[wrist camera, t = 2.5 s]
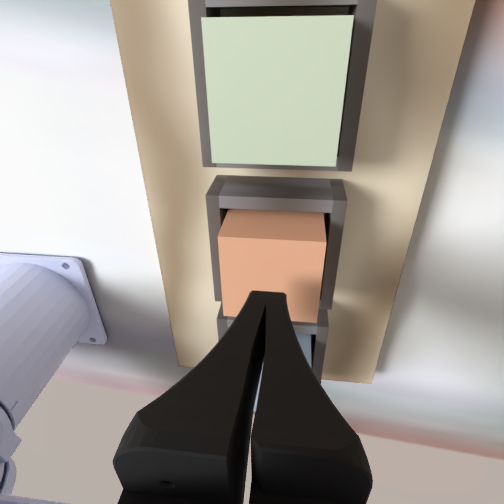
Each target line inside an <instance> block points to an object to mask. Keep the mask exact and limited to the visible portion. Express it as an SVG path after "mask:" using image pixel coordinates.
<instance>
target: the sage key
mask: <svg viewBox="0 0 504 504" xmlns="http://www.w3.org/2000/svg"><path fill="white" fill-rule="evenodd" d="M353 18H354V15H335V16H267V17H201V23H202V37H203V50H204V63H205V77H206V90H207V103H208V116H209V130H210V143H211V156H212V163H232V164H266V165H299V166H333V167H336V159H337V151H338V143H339V134H340V126H341V118H342V110H343V101H344V93H345V85H346V76H347V68H348V60H349V52H350V43H351V35H352V27H353Z"/></svg>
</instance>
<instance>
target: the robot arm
mask: <svg viewBox="0 0 504 504" xmlns="http://www.w3.org/2000/svg"><path fill="white" fill-rule="evenodd" d="M67 264H68V265H69V266H68V265H67ZM106 341H107V336H106V333H105V330H104V327H103V324H102V321H101V318H100V315H99V312H98V309H97V306H96V303H95V300H94V297H93V294H92V291H91V288H90V285H89V282H88V279H87V276H86V273H85V270H84V267H83V264H82V262H81V261H80V260H79V259H77V258H72V257H56V256H39V255H23V254H6V253H0V504H67V503H61V502H54V501H46V500H39V499H33V498H26V497H19V496H12V495H11V493H12V490H13V487H14V483H15V478H16V466H15V463H14V461H13V460H12V459H11V458H10V457H11V456H12V454H13V453H14V451H15V450H16V448H17V446H18V445H19V444H20V442H21V439H20V438H19V437H18V436H17V435H16V434H15V433H14V430H15V429H16V427H17V426H18V424H19V423H20V422H21V420H22V419H23V417H24V416H25V414H26V413H27V412H28V410H29V409H30V407H31V406H32V404H33V403H34V401H35V400H36V399H37V397H38V396H39V394H40V393H41V392H42V390H43V389H44V387H45V386H46V384H47V383H48V382H49V380H50V379H51V377H52V376H53V374H54V373H55V372H56V370H57V369H58V367H59V366H60V365H61V363H62V362H63V360H64V359H65V357H66V356H67V355H68V353H69V352H70V350H71V349H72V347H73V346H74V345H75V343H76V342H77V343H88V344H100V345H101V344H105V342H106ZM263 361H264V362H263ZM262 366H263V369H262ZM261 371H262V376H261ZM260 376H261V382H260V389H259V395H258V401H257V407H256V412H255V418H254V423H253V428H252V434H251V426H252V417H253V411H254V405H255V400H256V395H257V390H258V385H259V381H260ZM250 435H251V463H252V464H251V465H252V482H251V490H250V499H249V504H366V502H367V500H368V497H369V494H370V491H371V489H372V481H373V480H372V474H371V470H370V466H369V463H368V459H367V456H366V454H365V451H364V448H363V446H362V443H361V441H360V438H359V436H358V435H357V434H356V433H355V431H354V430H353V429H352V428H351V427H350V425H349V424H348V423H347V422H346V420H345V419H344V418H343V417H342V415H341V414H340V412H339V411H338V410H337V408H336V407H335V406H334V404H333V403H332V401H331V400H330V398H329V397H328V395H327V394H326V392H325V391H324V389H323V388H322V386H321V385H320V383H319V381H318V380H317V378H316V376H315V374H314V373H313V371H312V369H311V367H310V365H309V363H308V361H307V359H306V357H305V355H304V353H303V351H302V349H301V346H300V344H299V342H298V339H297V336H296V334H295V331H294V328H293V325H292V322H291V319H290V315H289V311H288V306H287V295H286V294H285V293H284V292H270V291H255V290H252V291H251V292H250V293H249V296H248V298H247V300H246V302H245V303H244V305H243V307H242V309H241V310H240V312H239V314H238V315H237V317H236V318H235V320H234V321H233V323H232V324H231V326H230V327H229V328H228V330H227V331H226V332H225V334H224V335H223V336H222V337H221V339H220V340H219V341H218V343H217V344H216V345H215V346H214V347H213V348H212V350H211V351H210V352H209V353H208V354H207V355H206V356H205V357H204V358H203V359H202V360H201V361H200V362H199V363H198V364H197V365H196V366H195V367H194V368H193V369H192V370H191V371H190V372H189V373H188V374H187V375H186V376H185V377H183V378H182V379H181V380H180V381H179V382H177V383H176V384H175V385H174V386H172V387H171V388H170V389H169V390H168V391H166V392H165V393H164V394H162V395H161V396H160V397H158V398H157V399H156V400H154V401H152V402H151V403H150V404H148V405H147V406H145V407H144V408H143V409H141V410H139V411H138V412H137V413H136V415H135V416H134V418H133V419H132V421H131V422H130V424H129V426H128V428H127V430H126V431H125V433H124V435H123V437H122V439H121V442H120V444H119V447H118V449H117V452H116V454H115V456H114V459H113V465H114V469H115V471H116V473H117V475H118V478H119V480H120V482H121V484H122V486H123V491H122V494H121V496H120V499H119V502H118V504H243V501H244V491H245V481H246V472H247V462H248V453H249V444H250Z"/></svg>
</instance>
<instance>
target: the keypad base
mask: <svg viewBox="0 0 504 504" xmlns="http://www.w3.org/2000/svg"><path fill="white" fill-rule="evenodd" d="M110 3H111V8H112V13H113V19H114V24H115V29H116V35H117V40H118V45H119V51H120V56H121V61H122V67H123V72H124V77H125V83H126V88H127V93H128V99H129V104H130V109H131V115H132V120H133V125H134V130H135V136H136V141H137V146H138V152H139V157H140V162H141V168H142V173H143V178H144V184H145V189H146V194H147V200H148V205H149V210H150V216H151V221H152V226H153V232H154V237H155V242H156V247H157V253H158V258H159V263H160V269H161V274H162V279H163V285H164V290H165V295H166V301H167V306H168V311H169V317H170V322H171V327H172V333H173V338H174V343H175V349H176V354H177V359H178V364H179V366H183V367H195V366H196V365H197V364H198V363H199V362H200V361H201V360H202V359H203V358H204V357H205V356H206V355H207V354H208V353H209V352H210V351H211V350H212V348H213V347H214V346H215V345H216V344H217V343H218V341H219V340H220V339H221V337H222V336H223V335H224V334H225V332H226V331H227V330H228V328H229V327H230V326H231V324H232V323H233V321H234V320H235V318H236V317H232V316H223V302H222V289H221V276H220V263H219V249H218V234H219V232H220V229H221V226H222V224H223V221H224V219H225V216H226V214H227V211H228V209H229V208H230V209H253V210H276V211H299V212H323V213H324V223H325V233H326V250H325V259H324V267H323V275H322V284H321V292H320V300H319V309H318V317H317V323H311V322H298V321H291V322H292V325H293V328H294V331H295V333H304V334H311V369H312V371H313V373H314V374H315V376H316V378H317V380H318V381H319V383H320V384H321V379H324V380H334V381H345V382H356V383H367V384H372V380H373V376H374V373H375V369H376V365H377V362H378V358H379V354H380V350H381V347H382V343H383V339H384V336H385V332H386V328H387V325H388V321H389V317H390V314H391V310H392V306H393V303H394V299H395V295H396V291H397V288H398V284H399V280H400V277H401V273H402V269H403V266H404V262H405V258H406V255H407V251H408V247H409V244H410V240H411V236H412V232H413V229H414V225H415V221H416V218H417V214H418V210H419V207H420V203H421V199H422V196H423V192H424V188H425V185H426V181H427V177H428V173H429V170H430V166H431V162H432V159H433V155H434V151H435V148H436V144H437V140H438V137H439V133H440V129H441V125H442V122H443V118H444V114H445V111H446V107H447V103H448V100H449V96H450V92H451V89H452V85H453V81H454V78H455V74H456V70H457V66H458V63H459V59H460V55H461V52H462V48H463V44H464V41H465V37H466V33H467V30H468V26H469V22H470V19H471V15H472V11H473V7H474V4H475V0H110ZM335 15H354V18H353V27H352V35H351V43H350V52H349V60H348V68H347V76H346V85H345V93H344V101H343V110H342V118H341V126H340V134H339V143H338V151H337V159H336V167H333V166H299V165H266V164H232V163H212V156H211V143H210V130H209V116H208V103H207V90H206V77H205V63H204V50H203V37H202V23H201V17H267V16H335Z"/></svg>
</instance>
